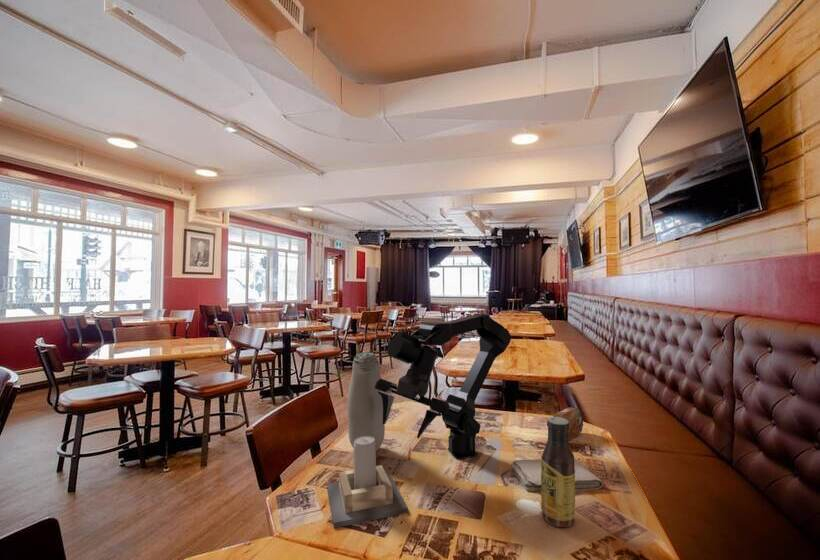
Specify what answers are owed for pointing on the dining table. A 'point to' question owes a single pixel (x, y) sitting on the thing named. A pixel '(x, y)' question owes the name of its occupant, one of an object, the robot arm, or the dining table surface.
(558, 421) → the sauce bottle
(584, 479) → the washcloth
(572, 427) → the brown rounded slab
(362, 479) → the beverage can
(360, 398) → the grey bottle
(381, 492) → the can collar
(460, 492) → the dining table surface
